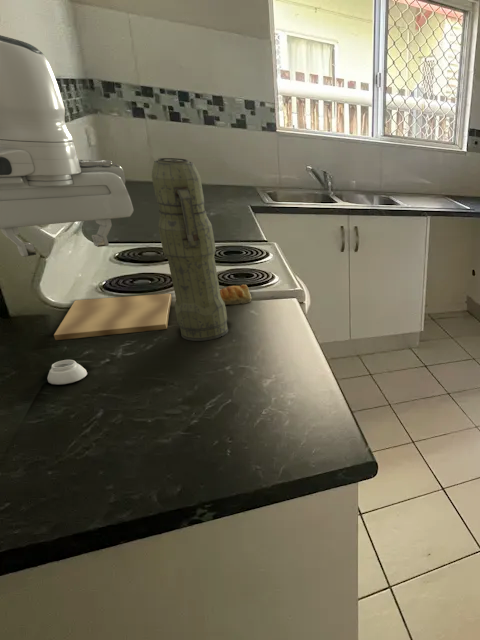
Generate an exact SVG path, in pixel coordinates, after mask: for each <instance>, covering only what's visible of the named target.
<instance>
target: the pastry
mask: <svg viewBox="0 0 480 640" xmlns="http://www.w3.org/2000/svg"><path fill="white" fill-rule="evenodd" d="M220 295H221V298H222V300H223V301H224V303H225V306H228V305H229V306H230V305H240V304H241V305H242V304H243V305H244V304H248V303H250V302H251V301H252V294H251V292H250V289H249V287H248V285H247V284H241V285H229V286H226V287H223V288H221V289H220Z"/></svg>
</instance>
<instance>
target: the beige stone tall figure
mask: <svg viewBox="0 0 480 640" xmlns="http://www.w3.org/2000/svg"><path fill="white" fill-rule="evenodd" d="M151 180H152V185H153V189H154V190H153V191H154V195H155V200H156V203H157V204H158V207H159V210H158V214H159V221H158V224H157V225H158V226H157V228H158V232H159V238H160V242H161V243H160V244H161V247H162V252H163V253H162V254H163V255H164V256H165V257H166V258H167V262H168V267H169V273H170V278H171V282H172V287H173V292H174V297H175V302H174V313H175V317H176V322H177V326H178V327H179V329H180V336H181V337H182V339H184V340H186V341H192V342H205V341H211V340H215V339H218V338H221V336H222V337H224V336H225V335H227V334H228V333H229V326H228V313H227V308H226V305H225V303H224V301H223V300H222V298H221V295H220V290H221V289H220V284H219V277H218V271H217V266H216V265H217V264H216V258H215V255H216V252H217V249H216V248H217V247H216V242H215V237H214V236H215V235H214V231H213V230H214V229H213V224H212V222H211V221H210V220H209V217H208V216H207V210H206V209H205V197H204V191H203V186H202V185H203V184H202V179H201V175H200V173H199V171H198V169H197V167H196V166H195V163H194V162H193V161H190V160H189V159H186V158H178V157H175V158H174V157H160V158H158V159H157V160H153V165H152V171H151Z"/></svg>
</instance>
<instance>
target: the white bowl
mask: <svg viewBox="0 0 480 640" xmlns="http://www.w3.org/2000/svg"><path fill="white" fill-rule="evenodd" d="M87 375H88V372H87V369H86V368H84V367H83V365H81V364H79V363H77V362H76V361H75V360H74V359H64V360H59V361H56V362H54V363H52V364H51V368H50V369H49V372H48V374H47V378H46V379H47V383H49V384H51V385H69V384H73V383H75V382H79V381H80V380H82V379H84V378H85V377H86V376H87Z"/></svg>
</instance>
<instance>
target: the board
mask: <svg viewBox="0 0 480 640" xmlns="http://www.w3.org/2000/svg"><path fill="white" fill-rule="evenodd" d="M172 299H173V297H172V294H171V293H159V294H158V293H157V294H145V295H144V294H143V295H129V296H116V297H102V298H88V299H75V300H74V301H73V303H72V305H71V306H70V308H69V310H68V311H67V313H66V314H65V316H64V317H63V319H62V321H61V322H60V324H59V326H58V327H57V329H56V330H55V332H54V334H53V337H54V339H55V341H61V340H62V341H64V340H72V339H83V338H91V337H93V338H94V337H103V336H113V335H122V334H132V333H141V332H143V333H144V332H152V331H160V330H161V331H162V330H168V324H169V316H170V312H171V305H172Z"/></svg>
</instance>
